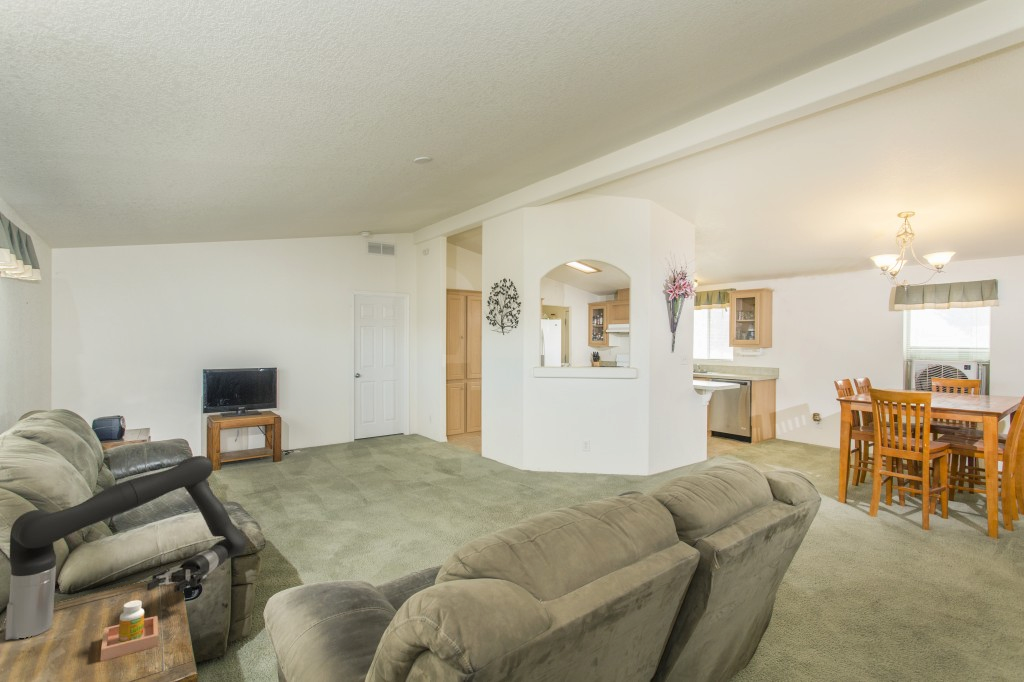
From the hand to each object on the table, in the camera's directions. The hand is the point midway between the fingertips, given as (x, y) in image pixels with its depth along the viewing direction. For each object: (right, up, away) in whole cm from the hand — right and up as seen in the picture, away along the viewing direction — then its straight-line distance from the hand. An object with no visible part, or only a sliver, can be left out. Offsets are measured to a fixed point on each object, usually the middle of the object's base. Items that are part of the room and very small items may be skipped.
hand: (161, 588), depth 147 cm
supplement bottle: (-1, -9, -11) cm, 14 cm away
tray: (-1, -9, -12) cm, 15 cm away
